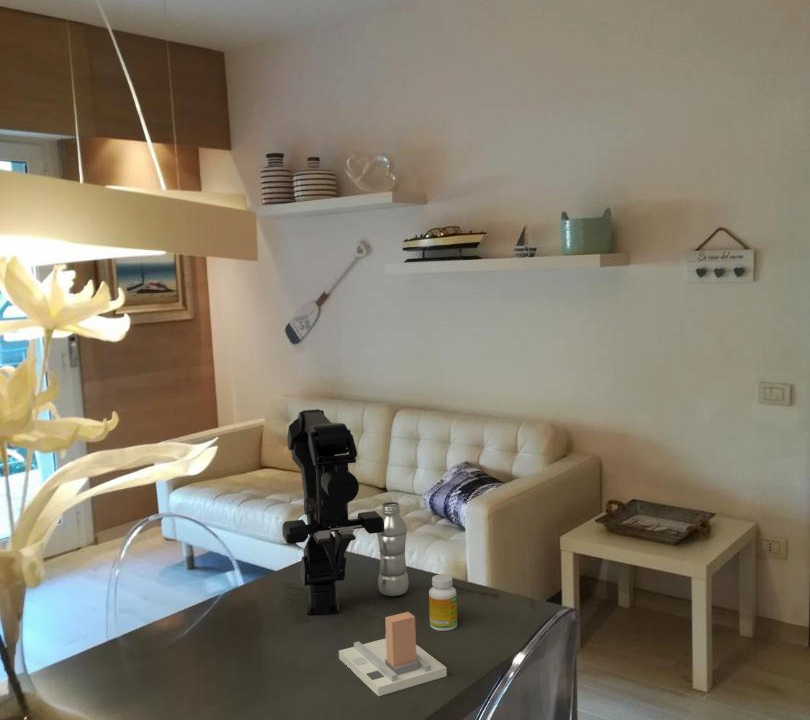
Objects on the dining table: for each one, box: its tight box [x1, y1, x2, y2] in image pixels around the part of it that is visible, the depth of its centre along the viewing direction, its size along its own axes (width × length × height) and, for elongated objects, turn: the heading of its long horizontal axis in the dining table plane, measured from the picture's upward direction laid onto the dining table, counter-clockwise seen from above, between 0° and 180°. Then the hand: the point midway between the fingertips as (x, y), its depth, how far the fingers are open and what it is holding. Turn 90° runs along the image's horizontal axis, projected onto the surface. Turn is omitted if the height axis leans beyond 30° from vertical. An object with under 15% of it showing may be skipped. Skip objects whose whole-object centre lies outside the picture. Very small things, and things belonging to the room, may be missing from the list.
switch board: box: [338, 633, 448, 697], centre depth 142 cm, size 16×13×2 cm
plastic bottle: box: [376, 501, 410, 597], centre depth 175 cm, size 6×7×20 cm
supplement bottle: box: [428, 573, 458, 632], centre depth 158 cm, size 5×5×10 cm
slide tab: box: [384, 611, 419, 675], centre depth 138 cm, size 4×4×9 cm
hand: (335, 570), depth 155 cm, fingers closed
